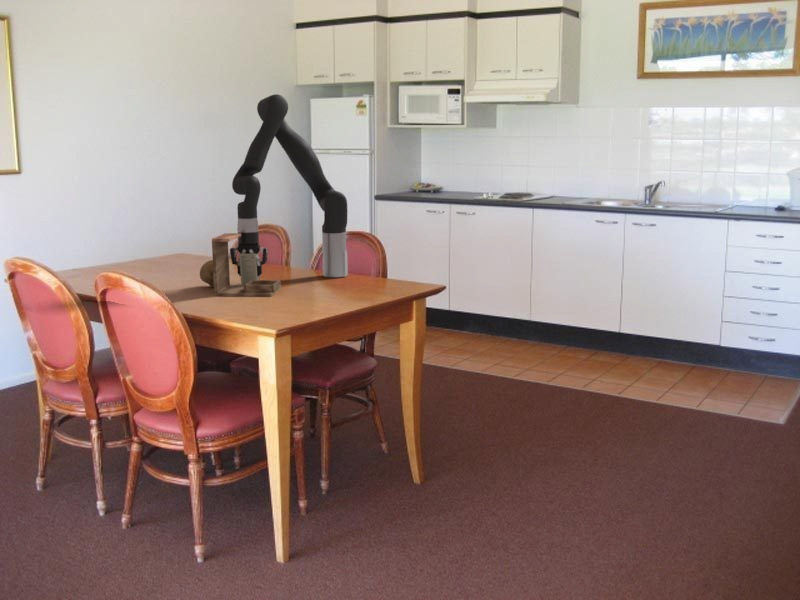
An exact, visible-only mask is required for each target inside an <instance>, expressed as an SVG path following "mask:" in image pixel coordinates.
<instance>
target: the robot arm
mask: <svg viewBox="0 0 800 600" xmlns="http://www.w3.org/2000/svg"><path fill="white" fill-rule="evenodd" d="M256 110H257V114H258V116H259V118H260V119H261V121H262V124H261V126H260V128H259V130H258V132H257V133H256V135H255V137H254V138H253V140H252V142H251V143H250V145H249V147H248V149H247V153H246V154H245V158H244V162H243V163H242V164H241V166H240V167H239V169H238V170H237V172H236V173H235V175H234V177H233V179H232V183H231V187H232V191H233V192H234V194H237V195H240V196H242V195H243V196H244V199H243V201H241V202H238V204H237V224H236V225H237V233H241V237H238V238H237V244H238V245H237V247H231V248H230V249H229V252H230V260H231V264H232V265H235V266H237V267H236V268H237V275H239V277H241V272H240V257H238V260H237V254H255V253H256V254H258V257H256V261H257V265H258V266H257V276H261V275H262V274H263V265H265V264H267V262H268V254H269V253H268V250H269V248H268V247H262V246H260V236H259V233H260V232H259V220H258V204H259V198H260V194H261V181H260V179H258V177H257V176H255V175H256V174H259V173H261V172H262V170H263V169H264V165H265V162H266V161H267V156H268V153H269V151H270V148H271V147H272V146H271V145H272V143H273V141H274V138H275V139H277V142H278V143H279V145H280V147H281V148H282V149H283V151H284V153H286V155H287V157H288V158H289V160H290V162H291V163H292V165H293V166H294V167H295V169H296V170H297V172H298V173H299V175H300V176H301V177H302V179H303V180H304V181H305V183H306V184H307V185H308V187H309V188H310V190H311V191H312V194H313V195H314V197H315V200H316V201H317V203H318V205H319V208H320V209H321V210H322V211H323V214H324V218H323V219H324V220H323V224H322V226H321V233H322V234H321V235H322V236H321V237H322V242H321V243H322V273H323V274H322V275H323V277H325V278H343V277H344V278H346V277H347V276H348V275H349V274H348V272H349V271H348V250H347V226H348V200H347V197H346V196H345V194H344V193H342V192H340V191H337V190H336V189H334V188H333V186H332V185H331V183H330V182H329V180H328V179H327V178H326V175H325V173H324V171H323V168H322V166H321V165H322V164H321V163H320V160H319V158H318V156H317V154H316V153H315V151H314V150H313V148H312V146H311V145H310V144H309V143H308V141H306V139H305V138H304V137H302V136H301V135H300V134H298V133H297V132H296V131H295V130H294V129H292V128H291V126H290V125H289V124H288V122H287V121H286V120H285V117H286V116H287V114H288V111H289V104H288V101H287V100H286V98H285V97H284V96H283V95H281V94H272V95H269V96H267V97H264V98H263V99H260V101H259V102H257V107H256ZM237 252H238V253H237ZM259 252H260V253H261V254H262V256H261V257H262V258H260V255H259ZM261 259H262V260H261Z"/></svg>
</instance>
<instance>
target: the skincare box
mask: <svg viewBox="0 0 800 600" xmlns="http://www.w3.org/2000/svg"><path fill="white" fill-rule="evenodd" d="M238 255H239V257H240V272H241V276H240V284H241V285H240V286H244V284H246V283H247V282H249V281H251V280H261V278H260V276H261V275H260V276H257V266H258V265H257V261H256V257H258V256H259V253H258V254H256V253H255V254H240V253H238ZM239 257H238V258H239Z"/></svg>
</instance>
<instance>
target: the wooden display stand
mask: <svg viewBox="0 0 800 600" xmlns="http://www.w3.org/2000/svg"><path fill="white" fill-rule="evenodd" d="M238 237H241V233H238V232H236V233H234V232H233V233H230V232H229V233H228V232H227V233H222V234H220V235H218V236H215V237H212V238H211V249H212V260H213V275H214V287H213V289H214V291H213V294H214V296H215V295H218V296H217V297H273V296H274V295H275V294H277V293H278V292H279V291H280V290H282V285H281V280H280V279H260V280H251V281H249V282H247V283H246V284H244V286H241V285H231V278H230V256H229V242H232V241H234V240H236V239H238Z"/></svg>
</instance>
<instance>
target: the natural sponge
mask: <svg viewBox="0 0 800 600" xmlns="http://www.w3.org/2000/svg"><path fill="white" fill-rule="evenodd" d="M199 277H200V279H201V280H200V281H202V282H204V283H206V284H208V286H210V287H211V288H214V275H213V259H211V260H208V261H206V262H204V263H203V264H202V266H201V267H200V271H199Z"/></svg>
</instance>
